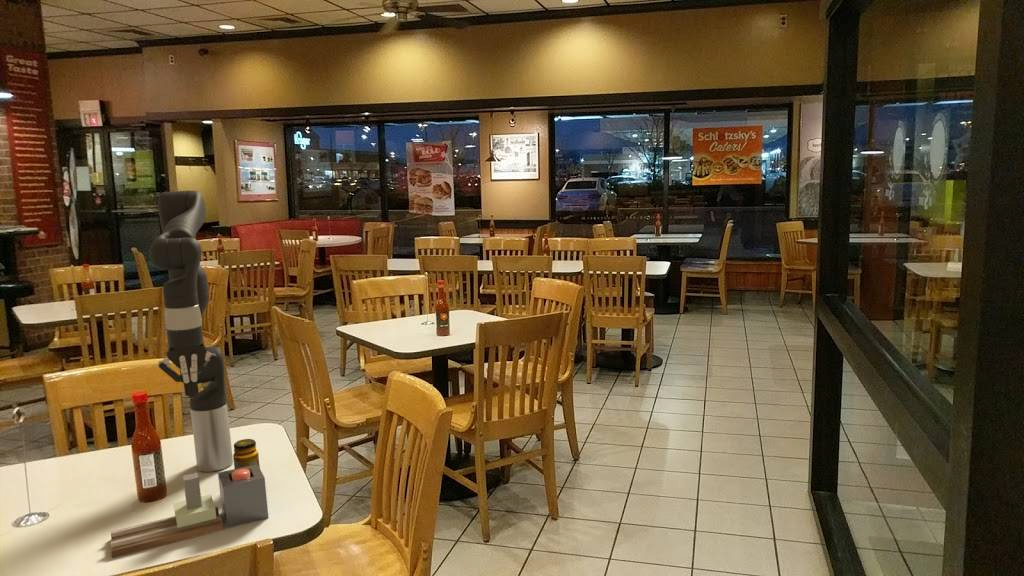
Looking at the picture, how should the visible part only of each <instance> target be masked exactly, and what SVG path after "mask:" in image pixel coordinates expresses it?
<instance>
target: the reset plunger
mask: <svg viewBox="0 0 1024 576" xmlns="http://www.w3.org/2000/svg"><path fill="white" fill-rule="evenodd" d="M245 478H250V470H248V469H239V470H236V471H234V472H233V473H232V481H237V480H241V479H245Z"/></svg>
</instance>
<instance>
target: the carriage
mask: <svg viewBox="0 0 1024 576" xmlns="http://www.w3.org/2000/svg"><path fill="white" fill-rule="evenodd" d="M182 478H183V479H182V480H183V486H184V487H183V488H184V495H185V500H180V501H176V502H173V508H174V516H175V517H176V522H177V528H179V527H184V526H188V525H192V524H196V523H200V522H204V521H208V520H212V519H216V510H215V506H216V505H215V503H214V500H213V497H212V494H206V495H202V493H201V487H200V479H199V474H198V472H195V473H188V474H185V475H183V476H182Z"/></svg>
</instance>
